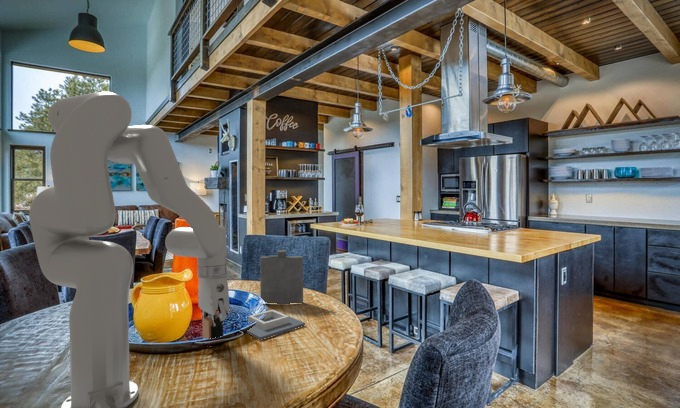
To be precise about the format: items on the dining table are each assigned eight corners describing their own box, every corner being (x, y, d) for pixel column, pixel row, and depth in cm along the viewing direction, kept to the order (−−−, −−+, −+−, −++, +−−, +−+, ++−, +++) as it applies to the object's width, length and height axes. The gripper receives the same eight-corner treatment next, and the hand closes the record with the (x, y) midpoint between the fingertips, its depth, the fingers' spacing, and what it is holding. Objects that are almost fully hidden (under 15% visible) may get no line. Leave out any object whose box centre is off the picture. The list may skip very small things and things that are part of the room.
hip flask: (303, 301, 135) (303, 249, 135) (302, 305, 131) (302, 251, 130) (261, 302, 134) (261, 249, 134) (259, 305, 130) (259, 251, 130)
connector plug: (223, 342, 98) (222, 314, 97) (208, 347, 95) (208, 317, 95) (216, 338, 100) (216, 310, 100) (202, 342, 98) (202, 313, 97)
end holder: (305, 326, 110) (305, 316, 110) (260, 340, 99) (260, 330, 99) (275, 313, 121) (275, 304, 121) (232, 325, 110) (232, 316, 110)
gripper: (239, 273, 94) (240, 341, 94) (211, 264, 106) (212, 325, 106) (212, 278, 88) (213, 350, 89) (186, 268, 100) (186, 331, 101)
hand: (212, 335), depth 97 cm, fingers open, 4 cm apart
